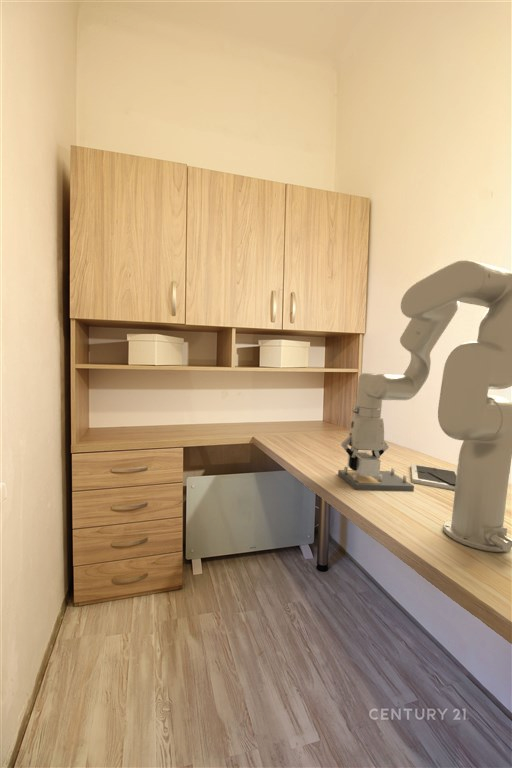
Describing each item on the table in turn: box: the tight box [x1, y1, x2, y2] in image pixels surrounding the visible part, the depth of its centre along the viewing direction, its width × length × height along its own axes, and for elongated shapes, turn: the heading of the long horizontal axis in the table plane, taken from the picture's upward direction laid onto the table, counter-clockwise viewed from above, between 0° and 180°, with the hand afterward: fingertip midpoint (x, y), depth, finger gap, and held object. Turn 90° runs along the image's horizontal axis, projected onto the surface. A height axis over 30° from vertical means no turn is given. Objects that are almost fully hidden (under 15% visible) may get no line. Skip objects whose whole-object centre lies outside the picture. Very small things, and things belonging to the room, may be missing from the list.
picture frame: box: [410, 463, 457, 491], centre depth 120 cm, size 16×3×21 cm
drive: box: [346, 450, 382, 477], centre depth 110 cm, size 10×6×5 cm, turn 7°
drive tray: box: [337, 466, 415, 492], centre depth 111 cm, size 14×18×4 cm
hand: (362, 468), depth 110 cm, fingers closed on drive, 6 cm apart
